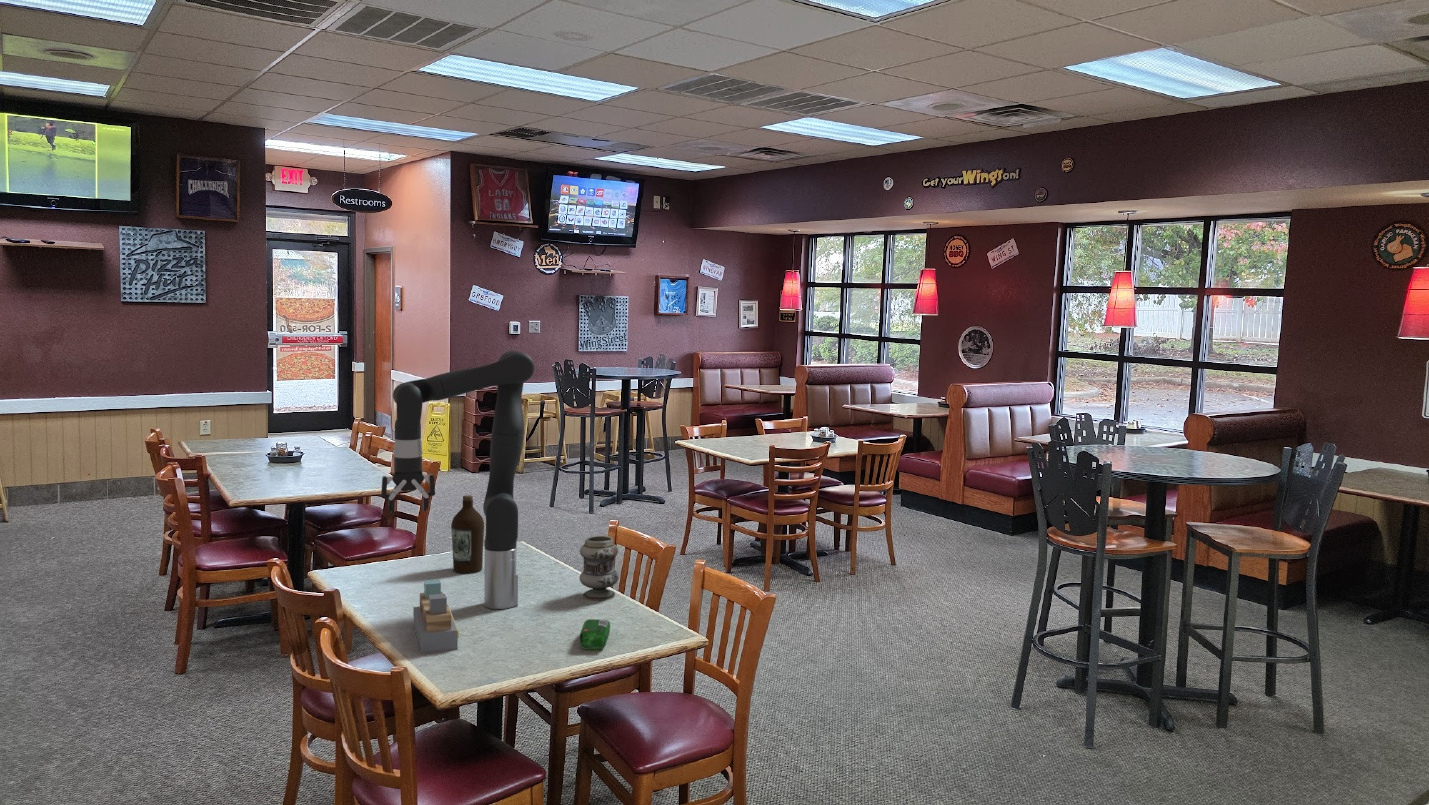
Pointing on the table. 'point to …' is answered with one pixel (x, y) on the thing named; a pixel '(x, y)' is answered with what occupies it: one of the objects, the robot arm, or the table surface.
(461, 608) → the table surface
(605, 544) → the apothecary jar
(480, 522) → the olive oil
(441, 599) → the block
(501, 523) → the robot arm
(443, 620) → the board
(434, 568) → the table surface
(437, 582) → the block
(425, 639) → the dock
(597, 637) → the snack package
